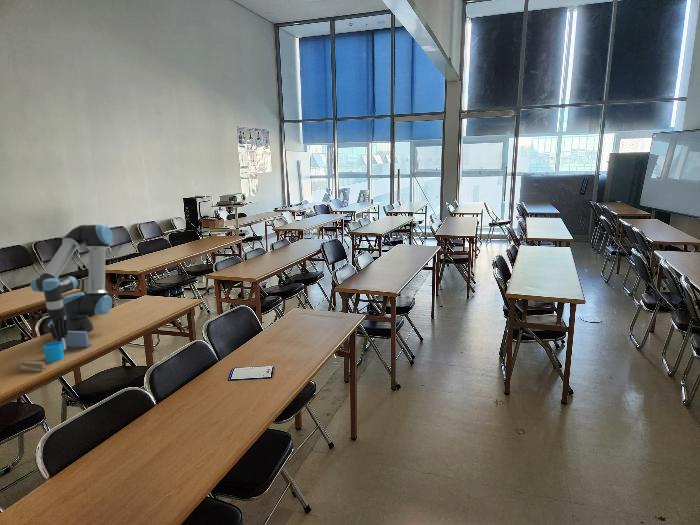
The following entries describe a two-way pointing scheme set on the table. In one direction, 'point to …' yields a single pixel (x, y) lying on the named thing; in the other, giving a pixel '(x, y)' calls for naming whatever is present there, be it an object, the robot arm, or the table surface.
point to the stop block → (32, 366)
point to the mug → (53, 351)
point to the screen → (77, 339)
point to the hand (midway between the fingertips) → (63, 349)
